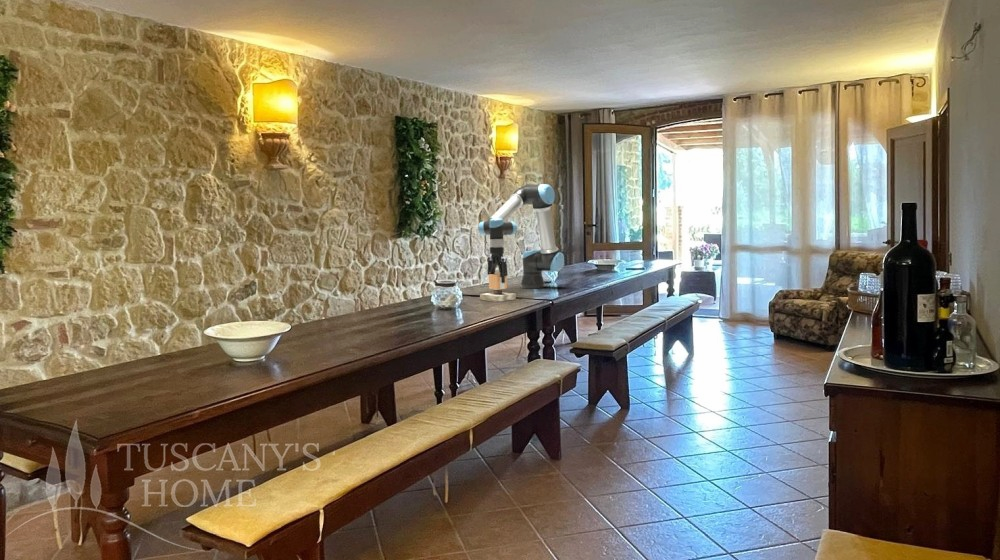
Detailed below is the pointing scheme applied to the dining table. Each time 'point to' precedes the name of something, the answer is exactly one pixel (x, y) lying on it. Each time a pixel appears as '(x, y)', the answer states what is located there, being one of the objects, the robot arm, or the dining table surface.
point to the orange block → (496, 281)
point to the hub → (498, 296)
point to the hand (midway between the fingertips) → (497, 288)
